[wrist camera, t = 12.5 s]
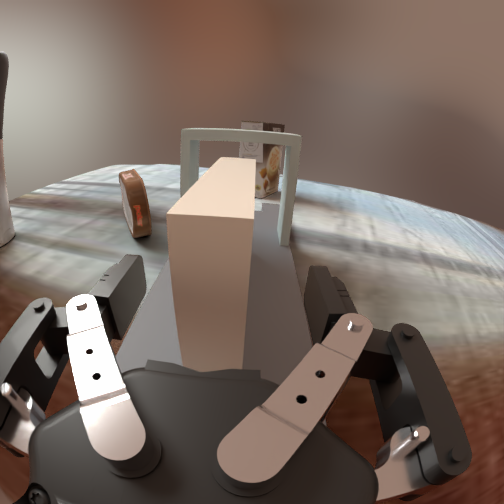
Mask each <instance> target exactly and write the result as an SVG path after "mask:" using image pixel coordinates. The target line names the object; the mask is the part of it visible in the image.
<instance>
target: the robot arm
mask: <svg viewBox="0 0 504 504" xmlns="http://www.w3.org/2000/svg"><path fill="white" fill-rule="evenodd" d="M8 67H9V64H8V57H7V54H6V53H5V52H0V247H1V246H3V245H4V244H6V243H7V242H9V241H10V240H11V239H12V238H13V237H14V235H15V231H14V226H13V222H12V217H11V211H10V206H9V200H8V194H7V186H6V178H5V169H4V157H3V140H2V138H3V137H2V129H3V113H4V99H5V92H6V85H7V78H8ZM145 293H146V278H145V272H144V265H143V259H142V257H141V256H140V255H128V254H127V255H125V256H124V257H123V259H122V260H121V261H120V262H119V264H117V263H116V264H115V265H113V266H112V267H110V268H109V269H108V270H107V271H106V272H105V273H104V276H102V277H101V278H100V281H98V282H97V283H96V284H95V286H94V287H93V288H92V289H91V291H90V292H89V293H88V295H79V296H76V297H74V298H73V299H71V300H70V301H69V302H68V304H67V307H57V308H54V306H53V303H52V301H51V300H50V299H49V298H39V299H36V300H34V301H33V302H32V303H30V305H29V306H28V307H27V308H26V309H25V311H24V312H23V313H22V315H21V316H20V317H19V318H18V320H17V321H16V322H15V324H14V325H13V326H12V328H11V329H10V331H9V332H8V333H7V335H6V336H5V338H4V339H3V340H2V342H1V343H0V445H1V446H2V447H4V448H6V449H7V450H8V451H9V452H11V453H12V454H13V455H15V456H17V457H24V456H26V457H28V458H29V462H30V481H29V486H28V489H27V491H26V493H25V494H24V495H23V496H22V497H21V498H20V499H19V500H18V501H16V502H15V503H13V504H379V503H383V502H387V501H390V500H394V499H398V498H399V499H400V500H403V501H411V500H414V499H416V498H418V497H420V496H422V495H424V494H426V493H428V492H430V491H432V490H434V489H436V488H437V487H439V486H441V485H443V484H445V483H446V482H448V481H450V480H451V479H453V478H455V477H456V476H458V475H460V474H461V473H463V472H464V471H465V470H466V469H467V468H468V467H469V465H470V462H471V458H472V452H471V448H470V445H469V442H468V439H467V436H466V433H465V431H464V428H463V425H462V423H461V420H460V417H459V415H458V412H457V410H456V407H455V405H454V402H453V400H452V398H451V395H450V393H449V391H448V389H447V386H446V384H445V382H444V380H443V378H442V375H441V373H440V371H439V369H438V367H437V365H436V363H435V361H434V359H433V357H432V355H431V353H430V351H429V349H428V347H427V345H426V343H425V341H424V339H423V338H422V336H421V334H420V332H419V331H418V330H417V329H416V328H415V327H413V326H411V325H409V324H405V323H399V324H396V325H394V326H393V328H392V330H391V332H388V331H383V330H378V329H374V328H373V326H372V323H371V322H370V321H369V319H367V318H366V317H364V316H362V315H360V314H358V313H357V311H356V308H355V306H354V304H353V302H352V300H351V298H350V297H349V294H348V292H347V290H346V288H345V286H344V283H343V282H341V281H340V280H339V279H338V278H337V277H331V275H330V273H329V271H328V269H327V267H326V266H310V268H309V273H308V278H307V283H306V288H305V294H304V306H305V311H306V315H307V319H308V323H309V327H310V332H311V336H312V340H313V345H314V346H313V347H312V349H311V350H310V351H309V352H308V353H307V355H306V356H305V357H304V358H303V360H302V361H301V362H300V363H299V364H298V365H297V367H296V368H295V369H294V370H293V371H292V373H291V374H290V375H289V376H288V377H287V378H286V379H285V381H284V382H283V383H282V384H281V385H278V384H276V383H274V382H272V381H269V380H266V379H262V378H261V375H260V370H247V369H226V370H217V371H209V372H199V371H196V370H193V369H190V368H187V367H184V366H181V365H178V364H175V363H169V362H162V361H156V360H149V359H148V360H147V363H146V366H145V367H141V368H135V369H131V370H128V371H125V372H123V373H122V372H121V370H120V367H119V365H118V362H117V360H116V357H115V354H114V352H113V349H112V346H111V344H110V342H111V340H112V339H117V340H122V338H123V336H124V334H125V332H126V330H127V328H128V326H129V324H130V322H131V320H132V318H133V316H134V315H135V313H136V311H137V309H138V307H139V305H140V303H141V301H142V299H143V298H144V296H145ZM40 340H41V342H42V344H43V346H44V347H43V349H42V350H41V352H40V354H39V355H38V357H37V359H36V361H35V359H34V349H35V347H36V345H37V344H38V342H39V341H40ZM69 358H70V359H71V364H72V369H73V374H74V378H75V382H76V387H77V391H78V395H79V398H80V399H79V400H77V401H75V402H74V403H72V404H70V405H69V406H67V407H65V408H64V409H62V410H60V411H59V412H57V413H55V414H54V415H52V416H50V417H48V418H47V419H45V413H44V412H45V410H46V407H47V405H48V402H49V400H50V398H51V395H52V393H53V391H54V389H55V387H56V384H57V382H58V380H59V378H60V376H61V374H62V372H63V370H64V368H65V366H66V364H67V361H68V360H69ZM351 376H354V377H359V378H365V379H369V381H370V385H371V388H372V392H373V396H374V400H375V404H376V408H377V412H378V416H379V420H380V424H381V429H382V433H383V438H384V442H385V443H384V444H383V445H382V446H381V447H380V448H379V450H378V452H377V457H376V460H377V463H376V467H375V469H374V468H373V467H372V466H371V464H370V463H369V462H368V461H367V460H366V459H365V458H363V457H362V456H361V455H360V454H358V453H357V452H356V451H355V450H354V449H352V448H351V447H350V446H349V445H348V444H346V443H345V442H344V441H343V440H342V439H341V438H339V437H338V436H337V435H336V434H335V433H334V432H332V431H331V430H330V429H329V428H328V427H327V426H326V425H324V424H323V421H324V420H325V418H326V417H327V415H328V414H329V412H330V410H331V409H332V407H333V405H334V404H335V402H336V401H337V399H338V397H339V396H340V394H341V392H342V391H343V389H344V387H345V386H346V384H347V382H348V381H349V379H350V377H351Z"/></svg>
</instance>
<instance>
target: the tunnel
mask: <svg viewBox="0 0 504 504" xmlns="http://www.w3.org/2000/svg"><path fill="white" fill-rule="evenodd" d="M200 140H211V141H212V140H213V141H237V142H253V143H266V144H277V145H286V152H285V162H284V172H283V181H282V190H281V200H280V209H279V217H278V226H277V231H278V237H279V243H280V245H281V246H288V245H289V238H290V231H291V224H292V216H293V209H294V201H295V193H296V185H297V176H298V167H299V159H300V150H301V140H302V136H300V135H296V134H289V133H280V132H270V131H258V130H242V129H218V128H189V129H182V130H181V169H180V190H181V197H182V196H183V195H184V194H185V193H186V192H187V191H188V190H189V189H190V188H191V187H192V186H193V185H194V184H195V183H196V182H197V181H198V173H199V141H200Z"/></svg>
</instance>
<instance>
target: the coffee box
mask: <svg viewBox="0 0 504 504" xmlns="http://www.w3.org/2000/svg"><path fill="white" fill-rule="evenodd" d="M241 129H242V130H258V131H270V132H280V133H284V125H282V124H275V123H266V122H254V121H242V125H241ZM282 146H283V145H277V144H266V143H253V142H240V151H239V158H246V159H256V173H255V197H257V198H263V197H266V196H268V195H270V194H272V193H274V192H277V191H278V184H279V175H280V165H281V156H282Z"/></svg>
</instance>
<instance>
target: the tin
mask: <svg viewBox="0 0 504 504" xmlns="http://www.w3.org/2000/svg"><path fill="white" fill-rule="evenodd" d="M119 183H120V186H121V191H122V205H123V209H124V214H125V218H126V221H127V224H128V227H129V229H130V232H131V234H132V236H133V238H138V237H142V236H146V235H151V231H152V230H151V216H150V210H149V204H148V199H147V194H146V189H145V186H144V183H143V180H142V178H141V177H140V176H139V174H138V173H137V172H136V171H135V170H134V169H132V170H129V171H124V172H121V173H119Z"/></svg>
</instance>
